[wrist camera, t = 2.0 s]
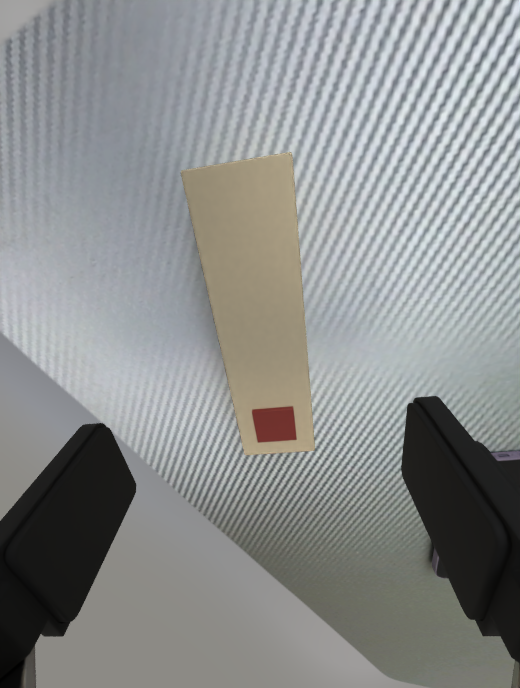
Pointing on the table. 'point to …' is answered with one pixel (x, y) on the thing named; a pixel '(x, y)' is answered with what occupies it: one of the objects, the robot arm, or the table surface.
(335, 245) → the table surface
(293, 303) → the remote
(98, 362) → the table surface
